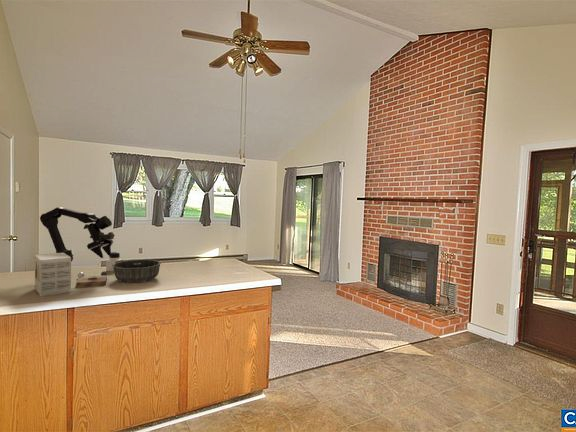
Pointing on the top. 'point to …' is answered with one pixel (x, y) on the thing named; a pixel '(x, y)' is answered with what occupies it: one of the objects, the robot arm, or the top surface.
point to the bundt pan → (136, 270)
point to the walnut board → (91, 281)
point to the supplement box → (52, 273)
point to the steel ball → (81, 275)
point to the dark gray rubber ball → (103, 273)
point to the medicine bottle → (113, 261)
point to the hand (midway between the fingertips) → (106, 256)
